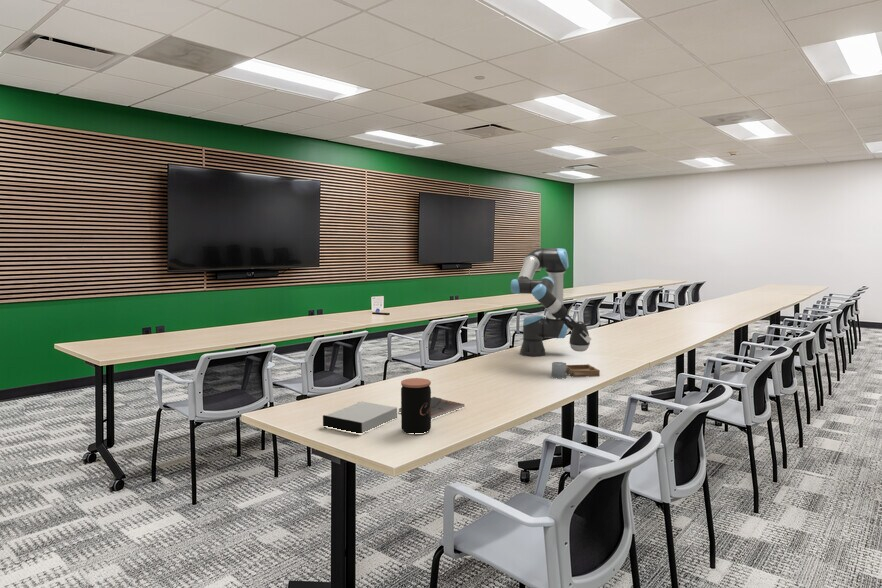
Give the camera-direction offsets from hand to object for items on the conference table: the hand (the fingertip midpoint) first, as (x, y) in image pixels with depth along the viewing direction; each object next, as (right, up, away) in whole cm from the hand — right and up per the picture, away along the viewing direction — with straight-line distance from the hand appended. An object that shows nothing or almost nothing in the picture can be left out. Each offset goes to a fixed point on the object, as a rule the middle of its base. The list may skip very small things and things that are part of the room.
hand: (585, 339), depth 286 cm
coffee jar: (-83, -26, -86) cm, 123 cm away
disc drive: (-105, -26, -78) cm, 133 cm away
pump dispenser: (-3, -6, 0) cm, 7 cm away
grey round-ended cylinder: (-15, -19, -6) cm, 25 cm away
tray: (-2, -18, +1) cm, 18 cm away
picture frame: (-78, -25, -62) cm, 103 cm away
